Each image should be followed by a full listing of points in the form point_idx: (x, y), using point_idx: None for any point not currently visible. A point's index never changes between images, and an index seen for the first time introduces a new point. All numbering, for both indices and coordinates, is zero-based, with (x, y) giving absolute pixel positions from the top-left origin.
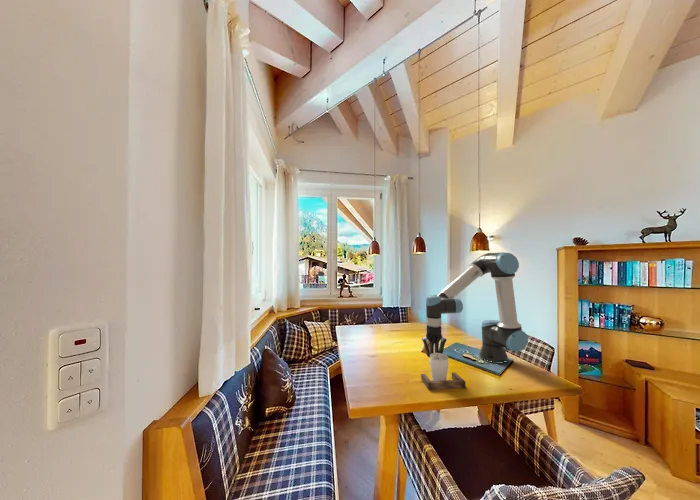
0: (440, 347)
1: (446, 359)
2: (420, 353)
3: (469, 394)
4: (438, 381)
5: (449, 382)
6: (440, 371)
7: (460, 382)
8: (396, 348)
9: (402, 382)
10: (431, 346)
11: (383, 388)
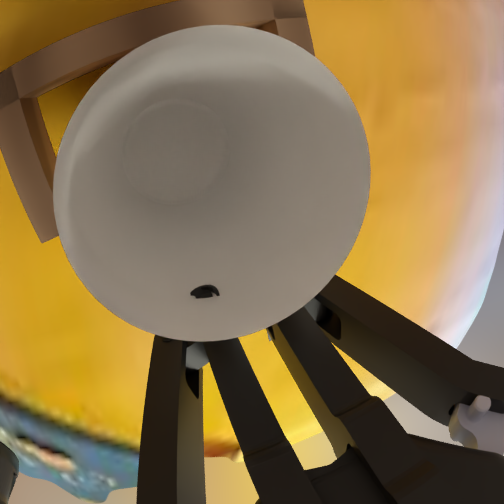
0: (192, 443)
1: (87, 93)
2: None
3: (6, 4)
4: (211, 14)
5: (113, 19)
6: (189, 66)
7: (19, 62)
8: None
9: (403, 96)
10: (363, 387)
11: (461, 48)
